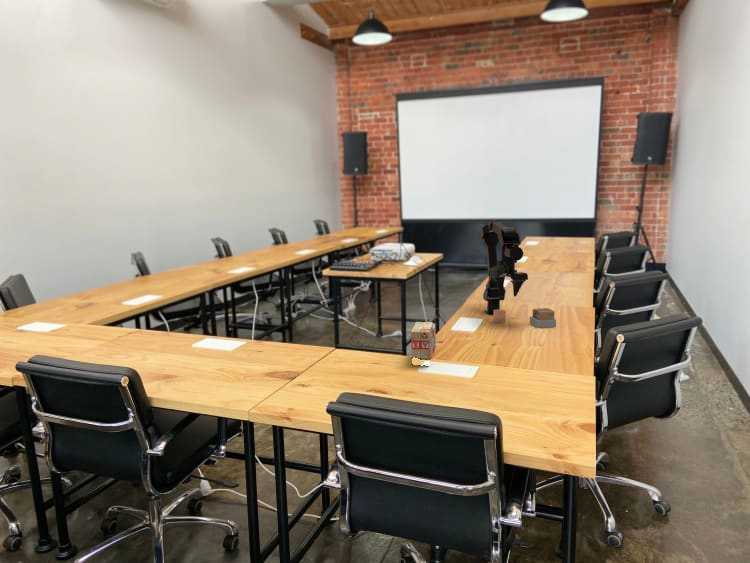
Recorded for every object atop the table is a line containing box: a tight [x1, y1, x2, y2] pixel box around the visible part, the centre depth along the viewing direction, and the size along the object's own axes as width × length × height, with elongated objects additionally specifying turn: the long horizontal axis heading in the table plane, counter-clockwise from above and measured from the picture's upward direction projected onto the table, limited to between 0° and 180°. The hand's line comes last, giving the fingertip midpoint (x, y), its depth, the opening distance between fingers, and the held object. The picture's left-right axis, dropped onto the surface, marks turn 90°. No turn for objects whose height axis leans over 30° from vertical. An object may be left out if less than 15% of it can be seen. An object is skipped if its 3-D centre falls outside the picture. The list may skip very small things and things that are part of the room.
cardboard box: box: [410, 321, 437, 360], centre depth 191 cm, size 21×6×12 cm, turn 168°
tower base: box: [529, 315, 557, 330], centre depth 227 cm, size 8×8×4 cm
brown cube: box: [492, 308, 507, 324], centre depth 234 cm, size 5×5×5 cm
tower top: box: [532, 307, 555, 321], centre depth 226 cm, size 6×6×4 cm
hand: (507, 294), depth 230 cm, fingers open, 9 cm apart
